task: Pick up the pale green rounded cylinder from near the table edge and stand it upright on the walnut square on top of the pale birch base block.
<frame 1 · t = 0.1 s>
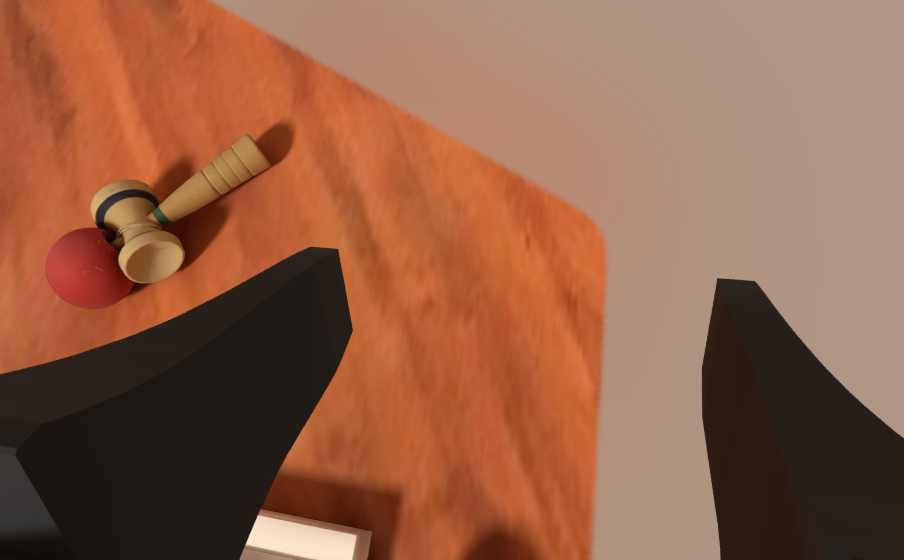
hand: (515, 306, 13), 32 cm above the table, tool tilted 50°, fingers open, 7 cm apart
kendama: (181, 229, 54), on the table
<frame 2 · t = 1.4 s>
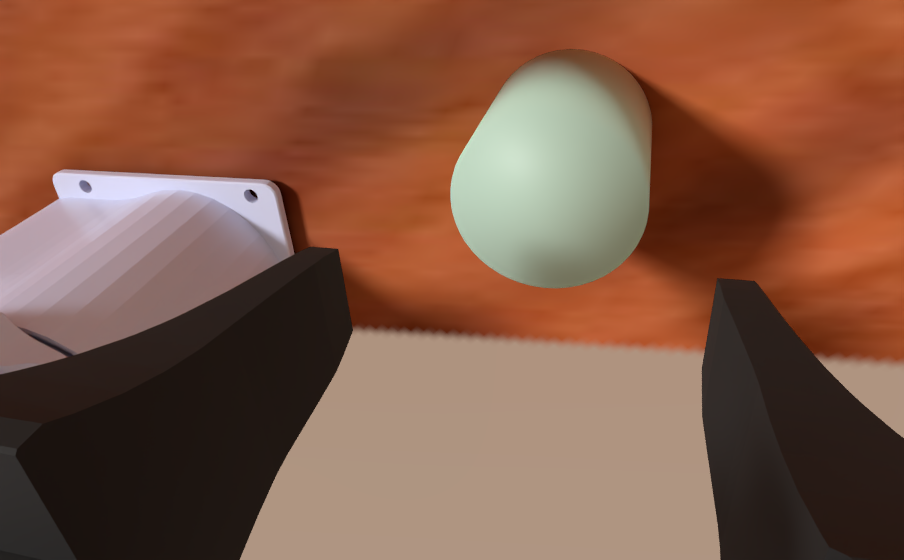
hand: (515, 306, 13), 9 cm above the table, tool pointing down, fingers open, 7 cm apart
pale green rounded cylinder: (569, 130, 21), on the table
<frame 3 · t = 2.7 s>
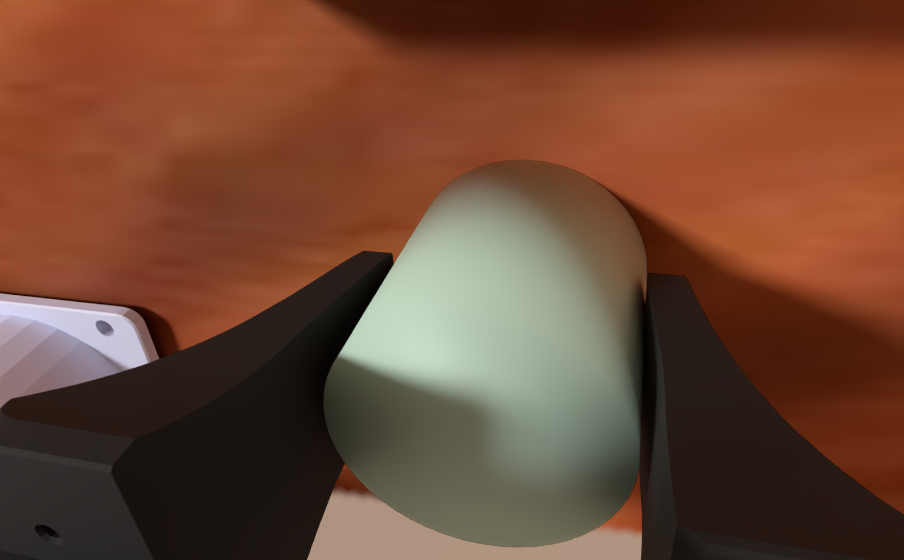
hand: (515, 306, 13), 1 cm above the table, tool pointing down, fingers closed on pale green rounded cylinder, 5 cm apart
pale green rounded cylinder: (527, 267, 14), on the table, touching gripper
when the fingers open (6 cm above the table, at t = 6.0 s): pale green rounded cylinder stays where it is, resting on birch base.
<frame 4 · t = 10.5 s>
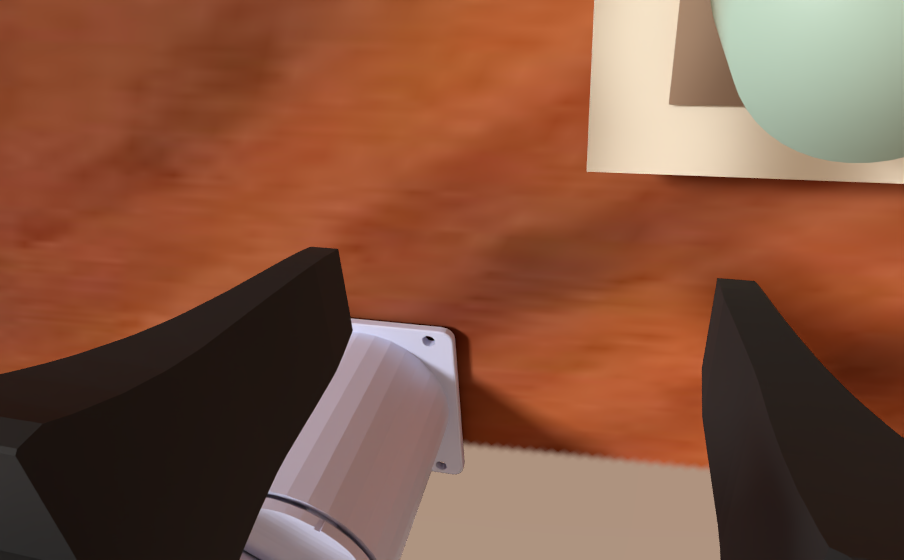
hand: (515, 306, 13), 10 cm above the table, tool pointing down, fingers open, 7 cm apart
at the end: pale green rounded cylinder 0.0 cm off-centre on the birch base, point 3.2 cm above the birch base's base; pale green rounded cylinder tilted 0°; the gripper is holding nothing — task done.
